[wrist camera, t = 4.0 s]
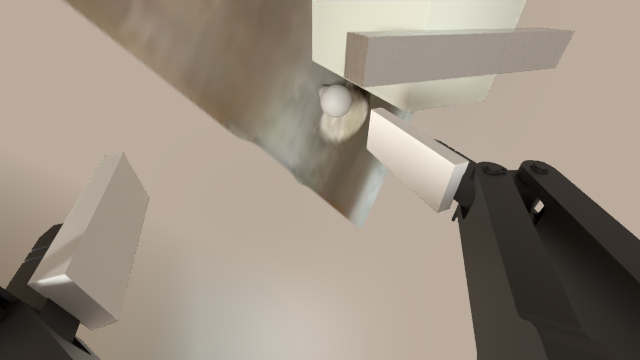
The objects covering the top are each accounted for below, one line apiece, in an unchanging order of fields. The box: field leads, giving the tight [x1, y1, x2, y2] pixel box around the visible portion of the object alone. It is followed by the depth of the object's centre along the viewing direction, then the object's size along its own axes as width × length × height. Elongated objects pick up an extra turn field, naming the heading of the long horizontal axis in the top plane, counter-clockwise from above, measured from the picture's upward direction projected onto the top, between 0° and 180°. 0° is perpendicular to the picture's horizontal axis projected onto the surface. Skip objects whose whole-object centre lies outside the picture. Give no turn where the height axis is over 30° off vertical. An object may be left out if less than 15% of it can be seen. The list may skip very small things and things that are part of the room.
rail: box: [344, 28, 575, 88], centre depth 23 cm, size 4×24×4 cm, turn 89°
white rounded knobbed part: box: [317, 85, 352, 117], centre depth 50 cm, size 6×6×11 cm
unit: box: [312, 0, 526, 112], centre depth 37 cm, size 12×12×30 cm
